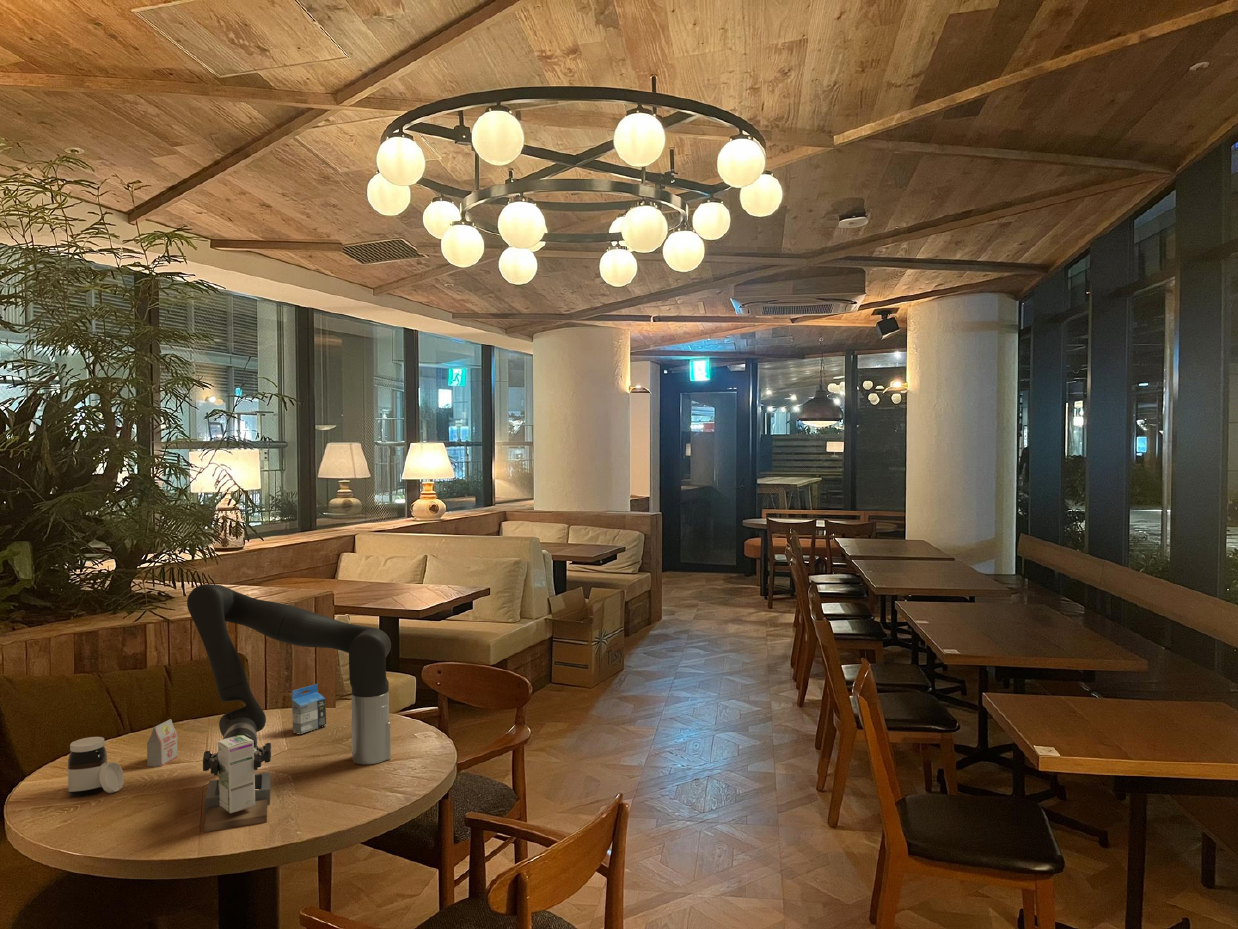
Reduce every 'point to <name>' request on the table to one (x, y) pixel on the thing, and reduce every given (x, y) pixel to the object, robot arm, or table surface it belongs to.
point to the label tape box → (308, 709)
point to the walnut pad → (235, 817)
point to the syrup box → (236, 773)
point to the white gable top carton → (162, 745)
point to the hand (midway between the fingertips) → (235, 768)
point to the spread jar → (92, 768)
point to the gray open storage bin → (263, 793)
